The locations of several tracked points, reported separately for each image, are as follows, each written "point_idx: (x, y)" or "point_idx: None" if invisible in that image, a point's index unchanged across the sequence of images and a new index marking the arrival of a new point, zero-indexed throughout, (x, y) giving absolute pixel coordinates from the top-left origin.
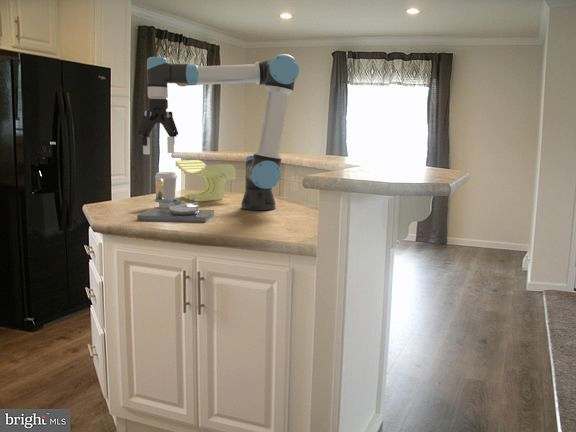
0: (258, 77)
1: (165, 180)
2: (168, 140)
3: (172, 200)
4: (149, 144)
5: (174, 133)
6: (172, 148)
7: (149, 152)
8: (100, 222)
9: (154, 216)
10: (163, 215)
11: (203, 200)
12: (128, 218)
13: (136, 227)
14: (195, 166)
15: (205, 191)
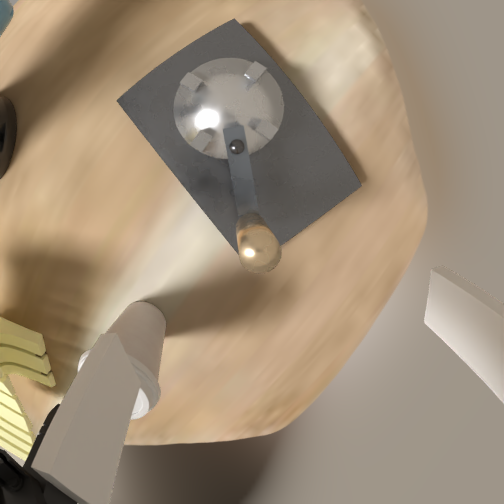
0: None
1: (136, 358)
2: (105, 470)
3: (238, 161)
4: (494, 308)
5: (6, 497)
6: (101, 363)
7: (446, 273)
8: (417, 231)
9: (332, 139)
10: (311, 122)
11: (29, 330)
12: (349, 231)
13: (405, 112)
14: (2, 428)
15: (10, 365)
